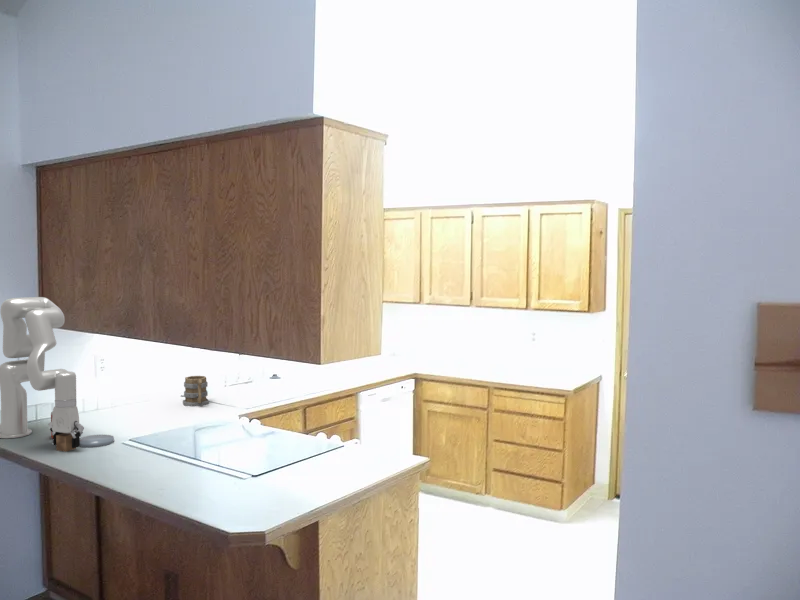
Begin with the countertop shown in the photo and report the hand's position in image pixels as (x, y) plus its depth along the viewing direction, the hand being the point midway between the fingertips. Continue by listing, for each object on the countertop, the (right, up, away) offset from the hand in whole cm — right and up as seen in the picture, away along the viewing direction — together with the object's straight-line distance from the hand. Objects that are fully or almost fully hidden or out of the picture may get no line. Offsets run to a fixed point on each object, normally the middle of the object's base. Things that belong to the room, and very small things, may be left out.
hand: (66, 445), depth 255 cm
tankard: (+26, +3, +81) cm, 85 cm away
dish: (+7, -1, +10) cm, 12 cm away
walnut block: (0, -1, 0) cm, 1 cm away
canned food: (-11, 0, +17) cm, 20 cm away
